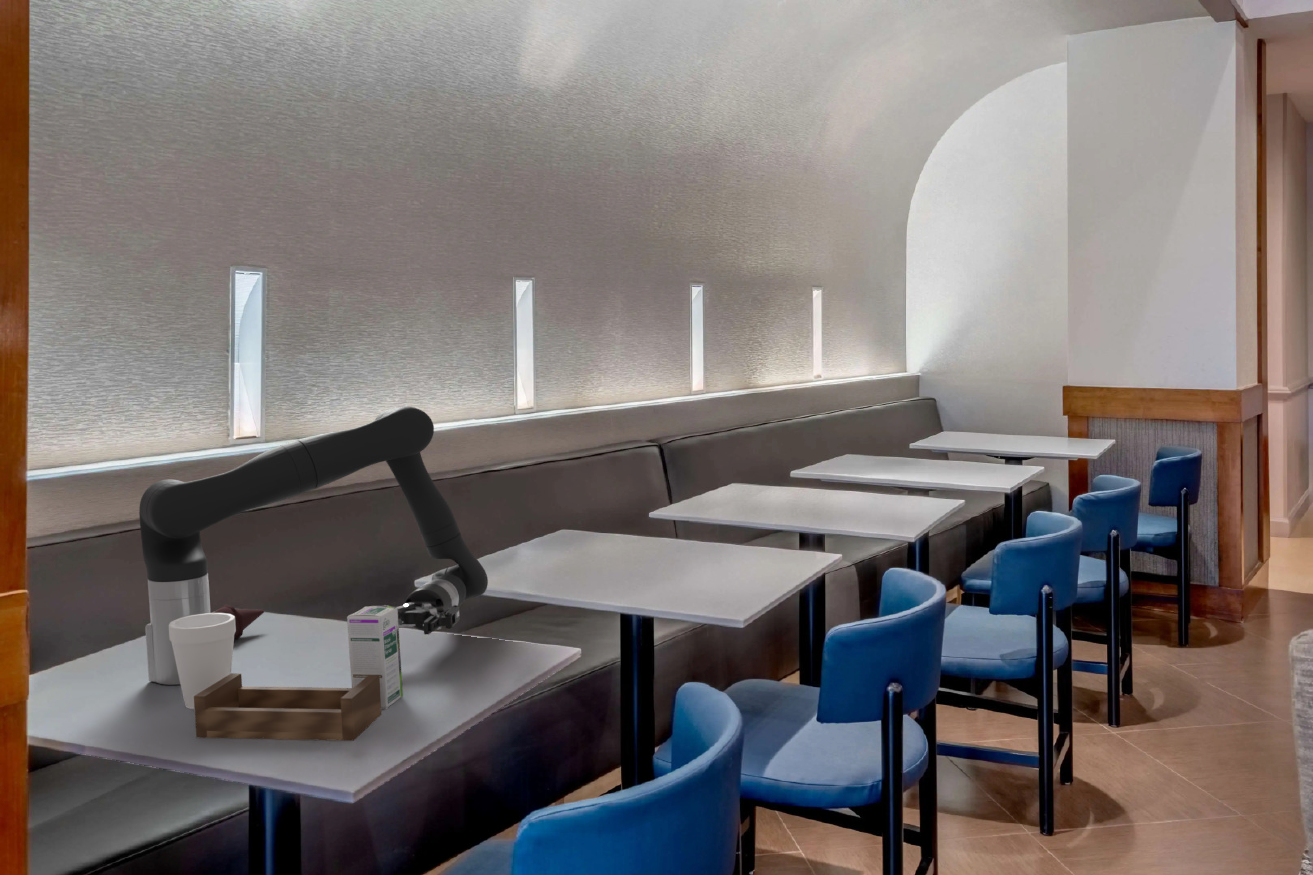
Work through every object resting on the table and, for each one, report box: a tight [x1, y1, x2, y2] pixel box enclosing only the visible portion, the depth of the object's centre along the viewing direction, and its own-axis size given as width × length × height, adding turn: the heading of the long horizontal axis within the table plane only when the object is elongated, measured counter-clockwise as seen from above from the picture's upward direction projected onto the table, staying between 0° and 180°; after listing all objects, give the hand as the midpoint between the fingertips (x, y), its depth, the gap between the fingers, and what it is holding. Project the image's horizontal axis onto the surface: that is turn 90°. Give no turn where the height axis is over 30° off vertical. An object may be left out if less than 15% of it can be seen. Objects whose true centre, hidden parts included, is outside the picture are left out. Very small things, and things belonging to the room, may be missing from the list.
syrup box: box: [346, 605, 404, 710], centre depth 163 cm, size 6×6×14 cm
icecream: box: [212, 604, 265, 640], centre depth 202 cm, size 7×7×15 cm
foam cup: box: [169, 612, 236, 710], centre depth 165 cm, size 10×9×13 cm
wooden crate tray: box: [194, 672, 382, 742], centre depth 154 cm, size 23×10×6 cm, turn 83°
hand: (400, 628), depth 174 cm, fingers open, 8 cm apart
